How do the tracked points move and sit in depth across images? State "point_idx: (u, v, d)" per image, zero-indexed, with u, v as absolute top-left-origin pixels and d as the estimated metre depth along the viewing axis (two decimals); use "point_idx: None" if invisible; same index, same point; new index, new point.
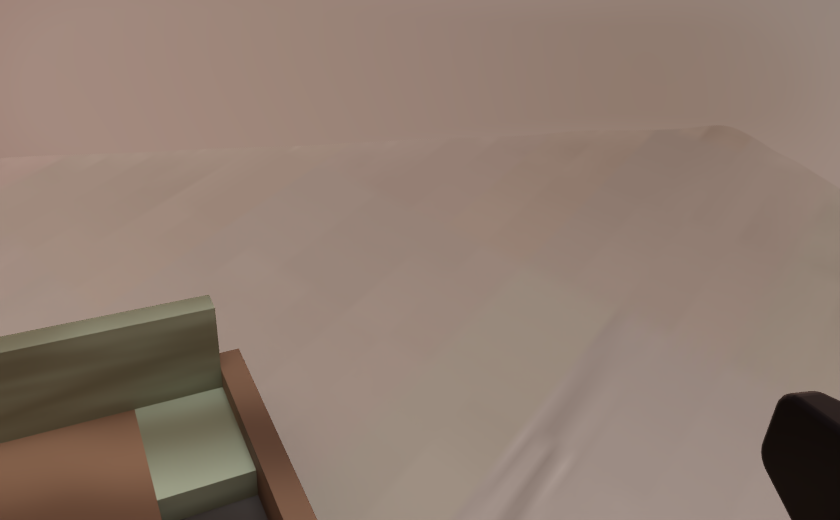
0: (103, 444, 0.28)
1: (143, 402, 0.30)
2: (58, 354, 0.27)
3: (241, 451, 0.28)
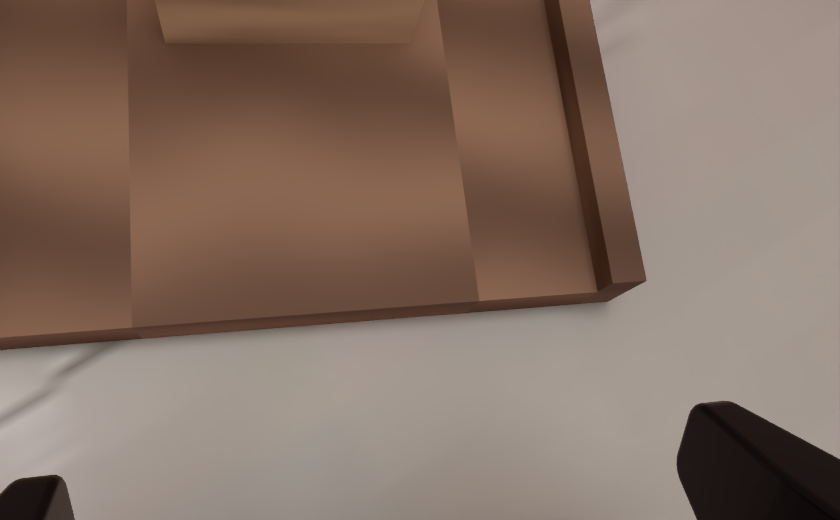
0: None
1: None
2: None
3: None
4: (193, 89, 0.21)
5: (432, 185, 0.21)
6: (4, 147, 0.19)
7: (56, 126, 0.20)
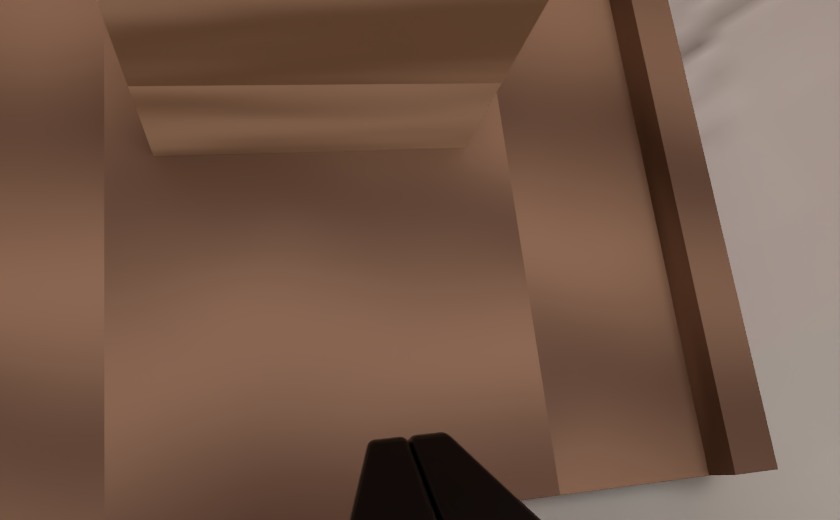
0: None
1: None
2: None
3: None
4: (189, 217, 0.16)
5: (496, 337, 0.16)
6: None
7: (8, 273, 0.15)
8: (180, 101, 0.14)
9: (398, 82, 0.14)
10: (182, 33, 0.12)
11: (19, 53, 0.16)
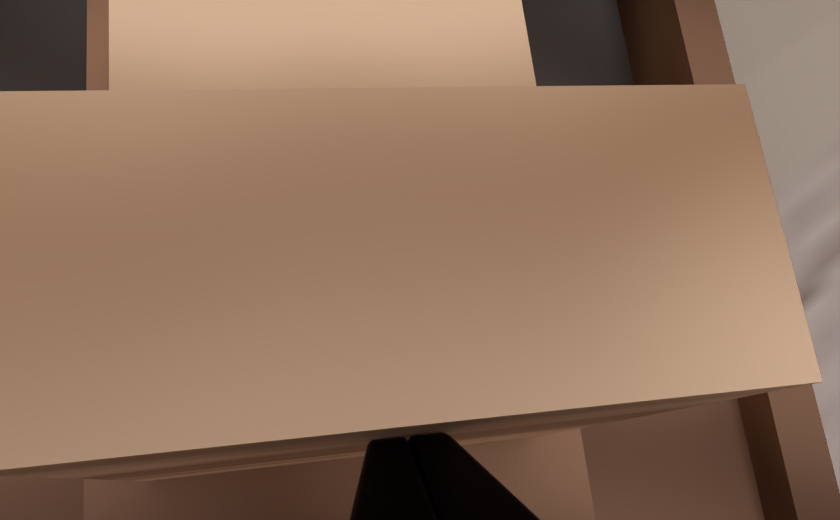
0: None
1: None
2: None
3: None
4: None
5: None
6: None
7: None
8: (180, 473, 0.11)
9: (464, 439, 0.11)
10: (182, 467, 0.09)
11: None
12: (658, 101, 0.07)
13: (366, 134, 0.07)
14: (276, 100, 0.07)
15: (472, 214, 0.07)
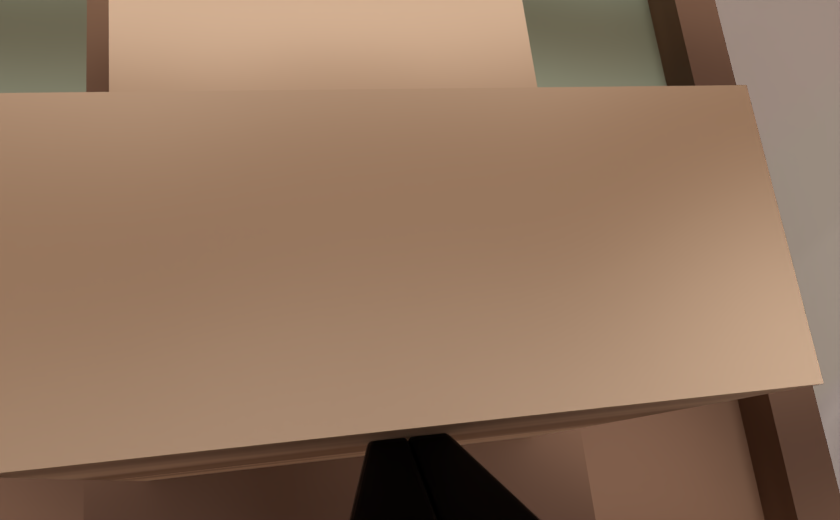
0: None
1: None
2: None
3: None
4: None
5: None
6: None
7: None
8: (180, 473, 0.11)
9: (464, 440, 0.11)
10: (183, 468, 0.09)
11: None
12: (660, 102, 0.07)
13: (367, 136, 0.07)
14: (277, 102, 0.06)
15: (473, 215, 0.07)
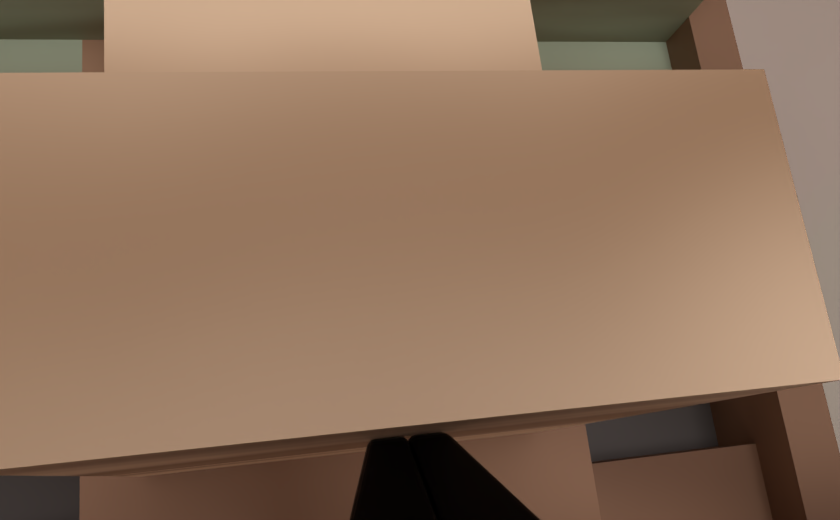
0: None
1: (541, 35, 0.16)
2: None
3: None
4: None
5: None
6: None
7: None
8: (178, 468, 0.10)
9: (468, 435, 0.11)
10: (179, 464, 0.08)
11: None
12: (674, 86, 0.07)
13: (371, 120, 0.06)
14: (276, 83, 0.06)
15: (481, 202, 0.06)
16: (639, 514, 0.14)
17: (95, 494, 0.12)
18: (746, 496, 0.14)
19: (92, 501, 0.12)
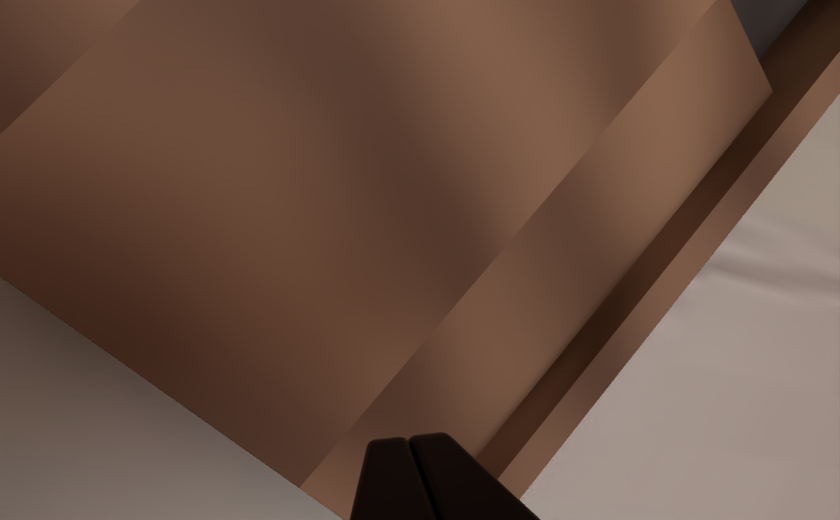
0: None
1: None
2: None
3: None
4: (273, 16, 0.14)
5: (377, 345, 0.16)
6: None
7: None
8: None
9: None
10: None
11: None
12: None
13: None
14: None
15: None
16: (713, 40, 0.19)
17: None
18: (747, 104, 0.20)
19: None
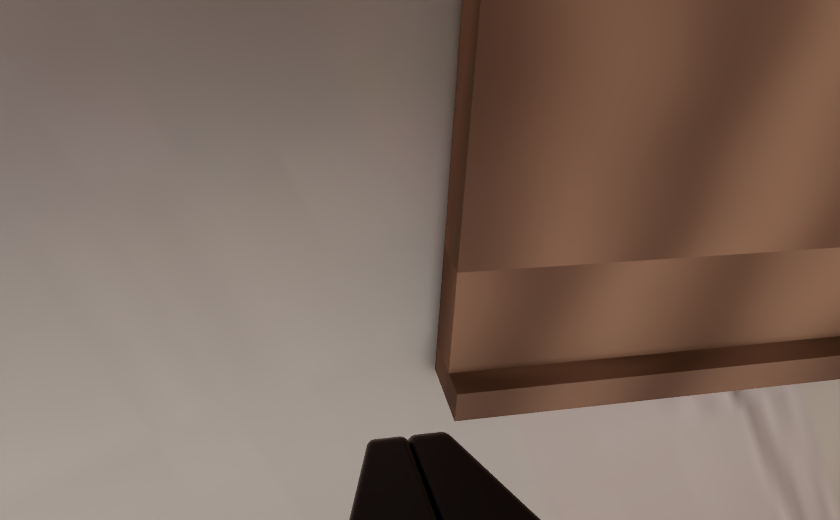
0: None
1: None
2: None
3: None
4: (732, 2, 0.19)
5: (577, 237, 0.21)
6: None
7: None
8: None
9: None
10: None
11: None
12: None
13: None
14: None
15: None
16: None
17: None
18: None
19: None
